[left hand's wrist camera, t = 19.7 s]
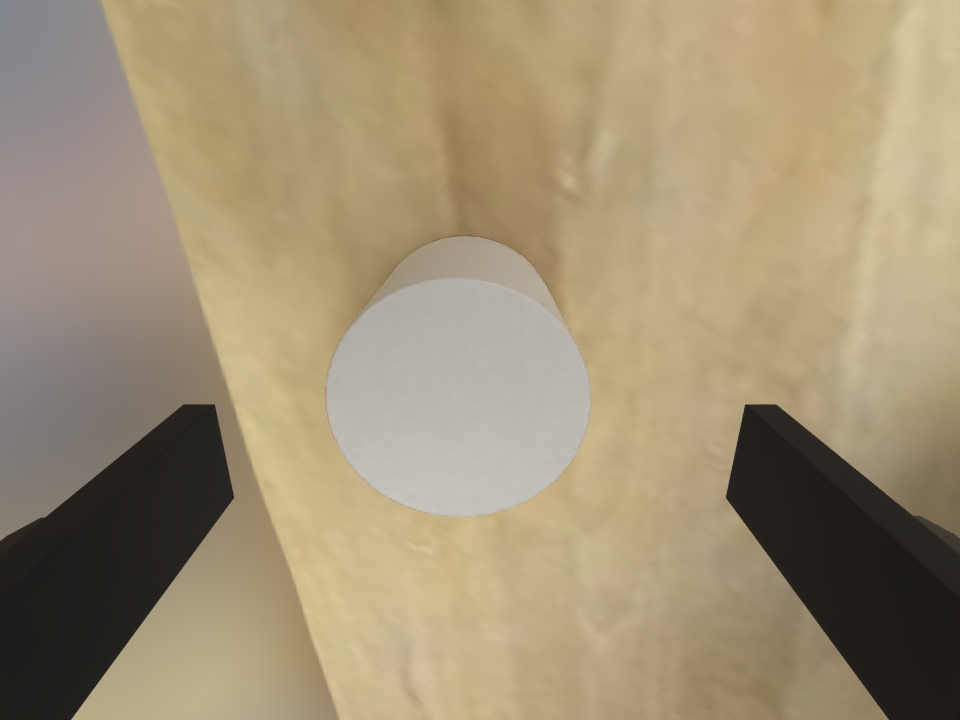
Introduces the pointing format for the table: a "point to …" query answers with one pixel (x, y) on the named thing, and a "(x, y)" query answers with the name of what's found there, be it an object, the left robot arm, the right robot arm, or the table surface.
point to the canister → (459, 382)
